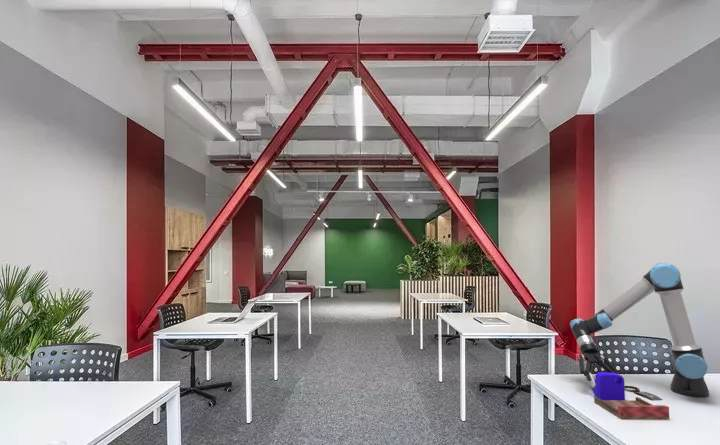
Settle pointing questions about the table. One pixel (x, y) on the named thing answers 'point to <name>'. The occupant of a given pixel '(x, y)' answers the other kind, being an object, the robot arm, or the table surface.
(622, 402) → the walnut stop track
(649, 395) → the keychain
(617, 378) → the bracket
